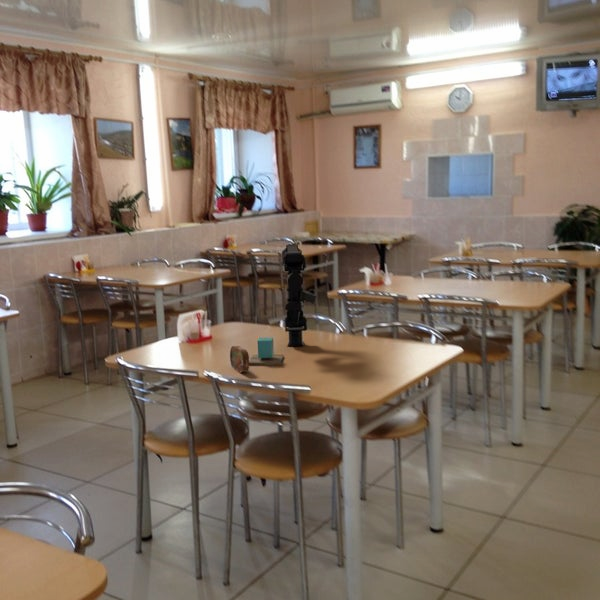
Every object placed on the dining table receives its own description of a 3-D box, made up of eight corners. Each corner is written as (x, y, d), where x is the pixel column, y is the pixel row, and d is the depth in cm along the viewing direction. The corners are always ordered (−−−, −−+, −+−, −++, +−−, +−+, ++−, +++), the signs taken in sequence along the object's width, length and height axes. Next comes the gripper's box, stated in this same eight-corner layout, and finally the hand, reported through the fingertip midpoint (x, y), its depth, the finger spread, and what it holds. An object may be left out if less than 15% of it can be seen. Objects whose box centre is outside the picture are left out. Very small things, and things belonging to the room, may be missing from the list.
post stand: (252, 357, 272) (252, 337, 271) (283, 357, 271) (282, 336, 270) (248, 365, 260) (247, 344, 259) (280, 365, 259) (279, 344, 258)
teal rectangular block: (260, 354, 268) (259, 337, 267) (273, 354, 268) (273, 337, 267) (258, 357, 263) (257, 340, 262) (272, 357, 263) (271, 340, 262)
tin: (229, 366, 261) (228, 344, 260) (237, 364, 262) (236, 343, 261) (242, 375, 247) (241, 352, 246) (251, 374, 249) (250, 351, 247)
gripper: (314, 287, 260) (315, 329, 263) (316, 280, 279) (318, 319, 281) (284, 288, 261) (285, 329, 264) (289, 281, 280) (290, 319, 282)
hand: (296, 324), depth 273 cm, fingers closed
